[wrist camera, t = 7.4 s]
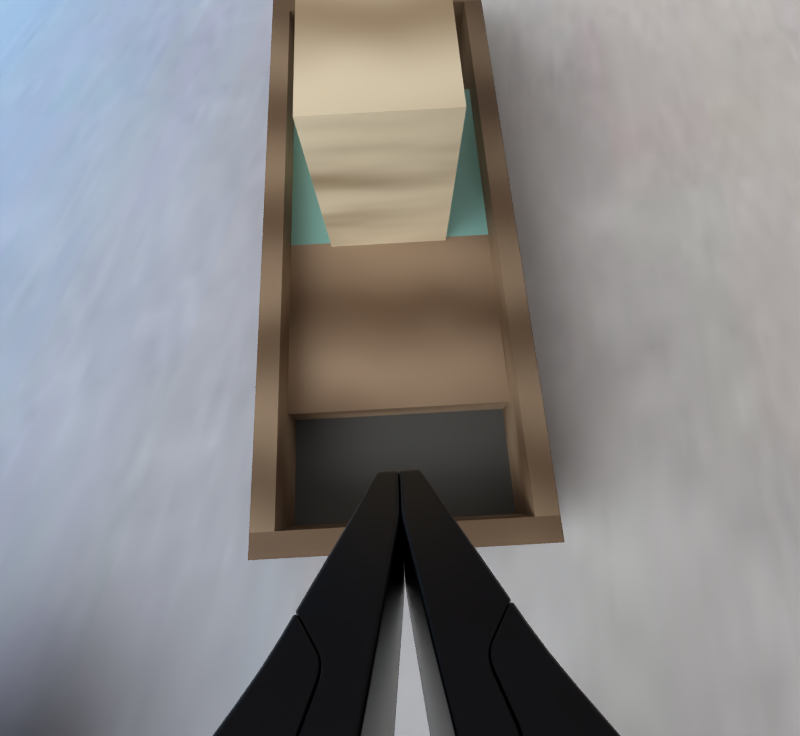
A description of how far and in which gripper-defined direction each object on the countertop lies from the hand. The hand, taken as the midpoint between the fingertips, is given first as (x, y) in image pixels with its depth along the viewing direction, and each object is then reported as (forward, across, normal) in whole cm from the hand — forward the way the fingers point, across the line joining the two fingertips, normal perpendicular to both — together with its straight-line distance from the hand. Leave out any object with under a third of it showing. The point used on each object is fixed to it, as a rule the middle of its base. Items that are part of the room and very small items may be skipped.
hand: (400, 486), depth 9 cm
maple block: (+20, 0, -5) cm, 20 cm away
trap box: (+18, 0, -1) cm, 18 cm away
